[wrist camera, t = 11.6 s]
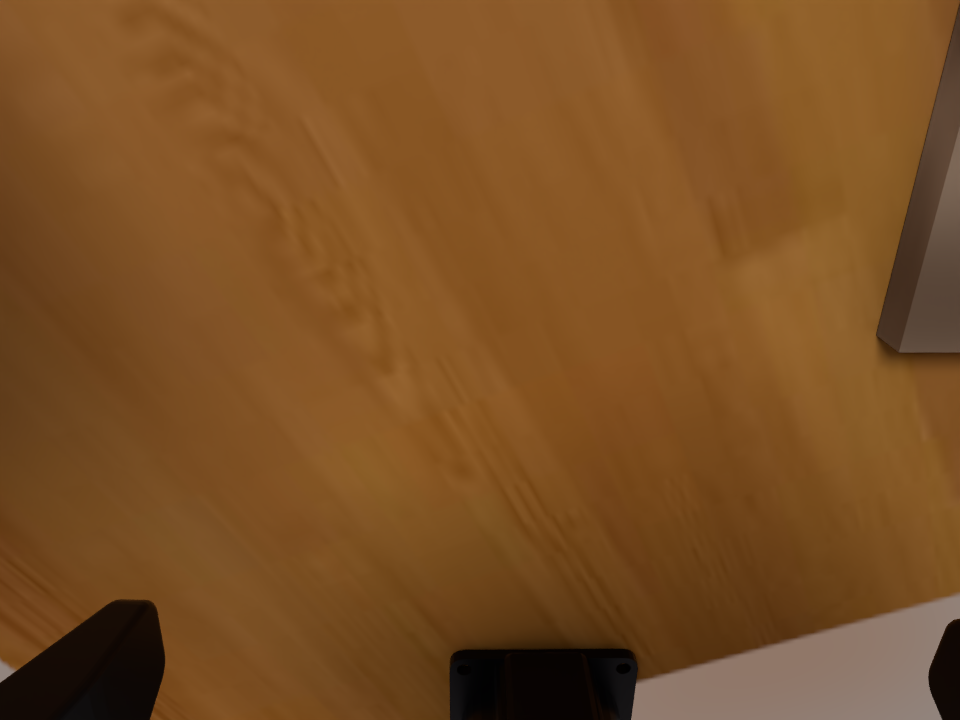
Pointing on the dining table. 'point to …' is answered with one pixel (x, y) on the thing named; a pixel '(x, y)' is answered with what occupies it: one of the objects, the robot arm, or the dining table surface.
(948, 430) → the dining table surface
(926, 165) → the socket board
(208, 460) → the dining table surface
